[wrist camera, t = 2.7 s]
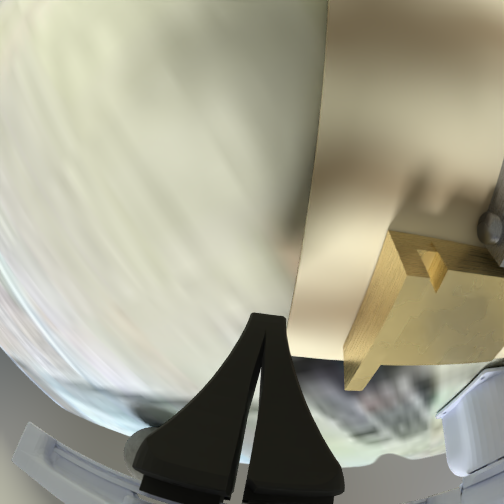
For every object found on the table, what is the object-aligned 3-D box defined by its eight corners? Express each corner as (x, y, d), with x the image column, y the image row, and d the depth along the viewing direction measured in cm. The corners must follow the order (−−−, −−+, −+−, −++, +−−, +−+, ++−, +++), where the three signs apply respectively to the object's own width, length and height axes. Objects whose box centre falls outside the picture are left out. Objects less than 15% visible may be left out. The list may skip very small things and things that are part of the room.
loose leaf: (486, 348, 14) (498, 381, 12) (343, 346, 16) (344, 390, 13) (544, 260, 10) (568, 292, 7) (388, 228, 11) (408, 273, 9)
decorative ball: (134, 424, 37) (116, 474, 29) (137, 409, 31) (114, 471, 23) (191, 445, 38) (177, 496, 30) (207, 435, 32) (190, 499, 24)
